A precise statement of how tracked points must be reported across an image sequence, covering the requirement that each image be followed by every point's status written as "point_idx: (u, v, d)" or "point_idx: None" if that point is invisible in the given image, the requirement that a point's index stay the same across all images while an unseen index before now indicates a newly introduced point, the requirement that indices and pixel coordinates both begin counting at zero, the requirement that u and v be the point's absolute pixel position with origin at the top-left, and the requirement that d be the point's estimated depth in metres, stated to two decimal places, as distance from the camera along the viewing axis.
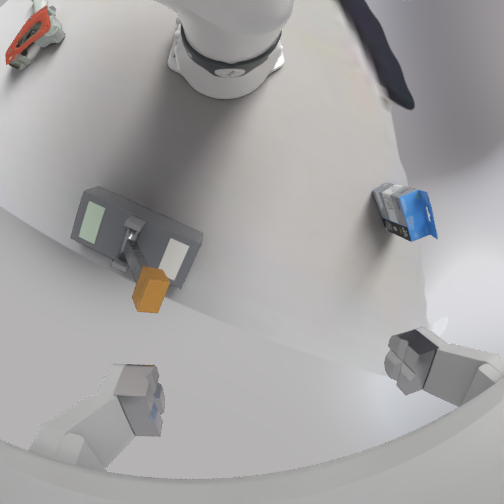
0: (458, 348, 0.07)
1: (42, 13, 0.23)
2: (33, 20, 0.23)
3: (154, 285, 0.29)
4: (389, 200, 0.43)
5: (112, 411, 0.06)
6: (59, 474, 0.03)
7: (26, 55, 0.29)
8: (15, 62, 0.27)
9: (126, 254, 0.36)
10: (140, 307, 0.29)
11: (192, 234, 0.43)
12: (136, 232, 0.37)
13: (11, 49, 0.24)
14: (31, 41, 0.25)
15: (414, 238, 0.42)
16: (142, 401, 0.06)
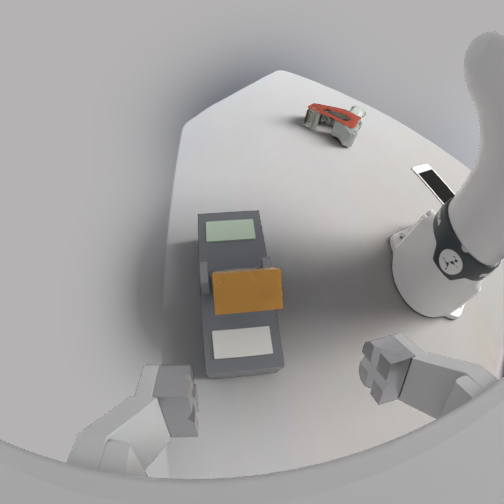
0: (436, 357, 0.07)
1: (355, 117, 0.56)
2: (346, 113, 0.57)
3: (271, 283, 0.18)
4: None
5: (152, 414, 0.06)
6: (59, 474, 0.03)
7: (316, 124, 0.59)
8: (310, 115, 0.57)
9: None
10: (220, 277, 0.18)
11: None
12: None
13: (319, 106, 0.56)
14: (335, 118, 0.54)
15: None
16: (184, 401, 0.06)
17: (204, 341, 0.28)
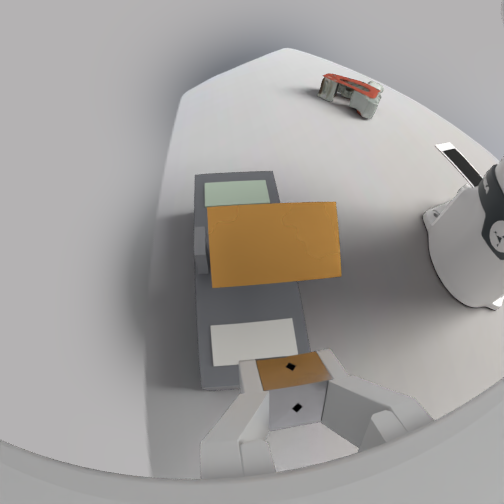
0: (359, 382, 0.06)
1: (374, 89, 0.47)
2: (365, 85, 0.48)
3: (320, 227, 0.09)
4: None
5: (264, 408, 0.06)
6: (59, 474, 0.03)
7: None
8: (326, 85, 0.48)
9: None
10: (224, 213, 0.09)
11: None
12: None
13: (335, 76, 0.47)
14: (354, 88, 0.45)
15: None
16: (294, 391, 0.07)
17: (199, 340, 0.19)
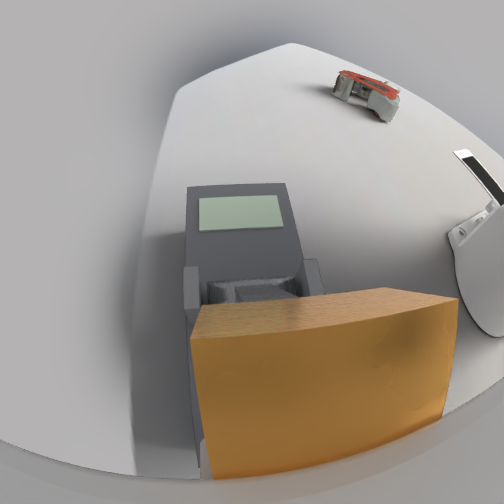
0: None
1: (393, 90, 0.42)
2: (383, 84, 0.42)
3: (430, 355, 0.04)
4: None
5: None
6: (59, 474, 0.03)
7: None
8: (341, 82, 0.42)
9: (244, 289, 0.14)
10: (235, 356, 0.03)
11: None
12: None
13: (351, 73, 0.42)
14: (372, 87, 0.39)
15: None
16: None
17: (194, 413, 0.14)
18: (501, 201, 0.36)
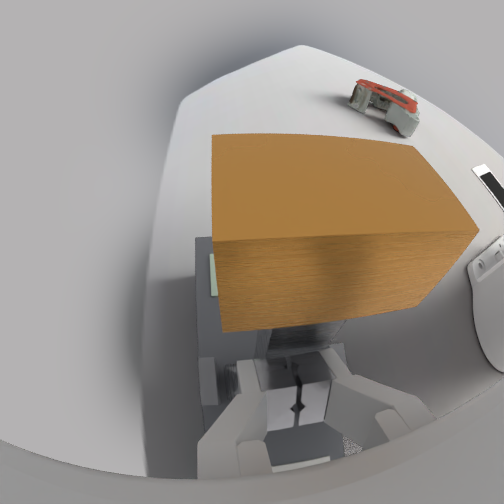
0: (362, 382, 0.06)
1: (412, 101, 0.39)
2: (401, 95, 0.39)
3: (410, 165, 0.05)
4: None
5: (262, 408, 0.06)
6: (59, 474, 0.03)
7: None
8: (359, 93, 0.40)
9: None
10: (242, 139, 0.05)
11: None
12: None
13: (369, 83, 0.39)
14: (392, 99, 0.36)
15: None
16: (292, 391, 0.07)
17: None
18: None
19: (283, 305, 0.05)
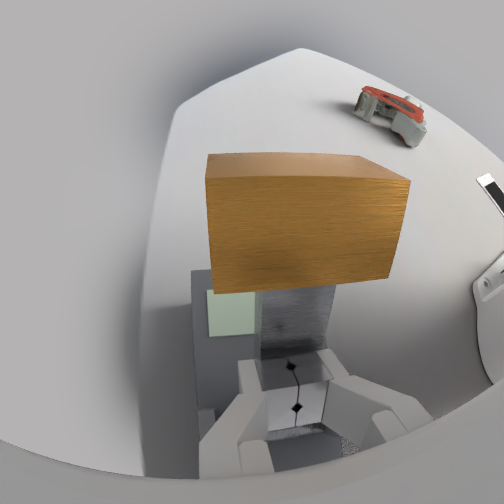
0: (359, 383, 0.06)
1: (418, 109, 0.38)
2: (407, 103, 0.38)
3: (352, 161, 0.07)
4: None
5: (263, 408, 0.06)
6: (59, 474, 0.03)
7: None
8: (364, 101, 0.38)
9: None
10: (229, 154, 0.07)
11: None
12: None
13: (374, 90, 0.38)
14: (398, 108, 0.35)
15: None
16: (293, 391, 0.07)
17: None
18: None
19: (261, 255, 0.06)
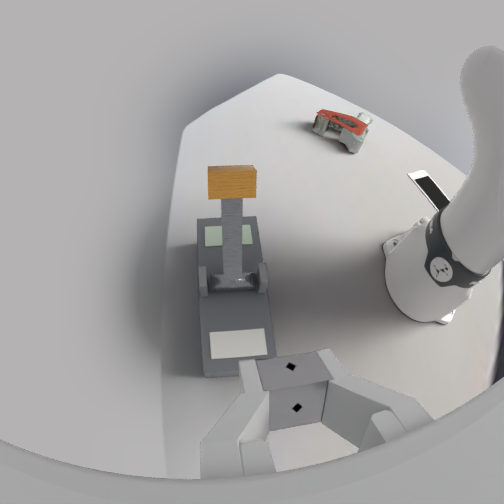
0: (359, 383, 0.06)
1: (362, 124, 0.58)
2: (354, 120, 0.58)
3: (246, 167, 0.26)
4: None
5: (264, 408, 0.06)
6: (59, 474, 0.03)
7: None
8: (319, 121, 0.58)
9: None
10: (213, 166, 0.26)
11: None
12: (253, 274, 0.31)
13: (328, 112, 0.58)
14: (343, 125, 0.56)
15: None
16: (294, 391, 0.07)
17: (202, 342, 0.29)
18: None
19: (219, 189, 0.25)
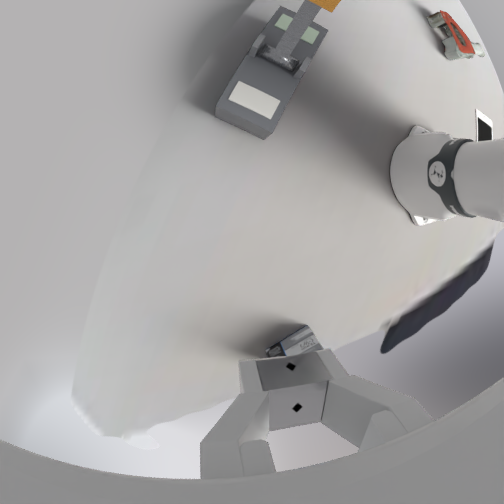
0: (359, 383, 0.06)
1: (470, 49, 0.34)
2: (467, 41, 0.33)
3: None
4: (311, 343, 0.42)
5: (264, 408, 0.06)
6: (59, 474, 0.03)
7: (437, 26, 0.36)
8: (437, 17, 0.33)
9: None
10: None
11: None
12: (297, 61, 0.29)
13: (449, 18, 0.31)
14: (454, 35, 0.32)
15: None
16: (294, 391, 0.07)
17: (228, 84, 0.31)
18: None
19: None
